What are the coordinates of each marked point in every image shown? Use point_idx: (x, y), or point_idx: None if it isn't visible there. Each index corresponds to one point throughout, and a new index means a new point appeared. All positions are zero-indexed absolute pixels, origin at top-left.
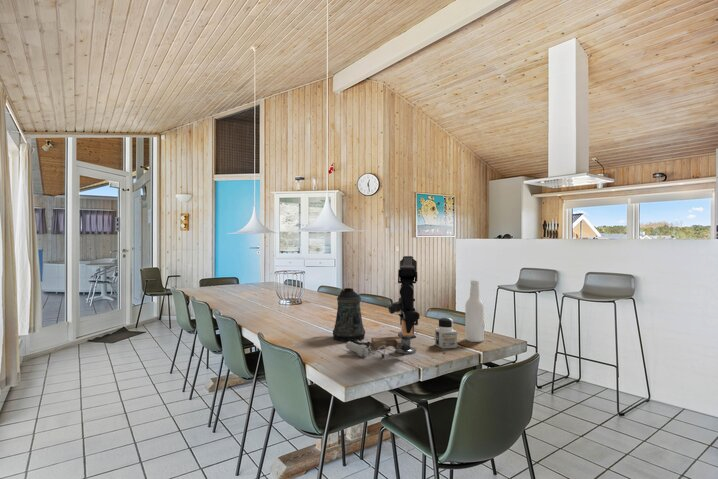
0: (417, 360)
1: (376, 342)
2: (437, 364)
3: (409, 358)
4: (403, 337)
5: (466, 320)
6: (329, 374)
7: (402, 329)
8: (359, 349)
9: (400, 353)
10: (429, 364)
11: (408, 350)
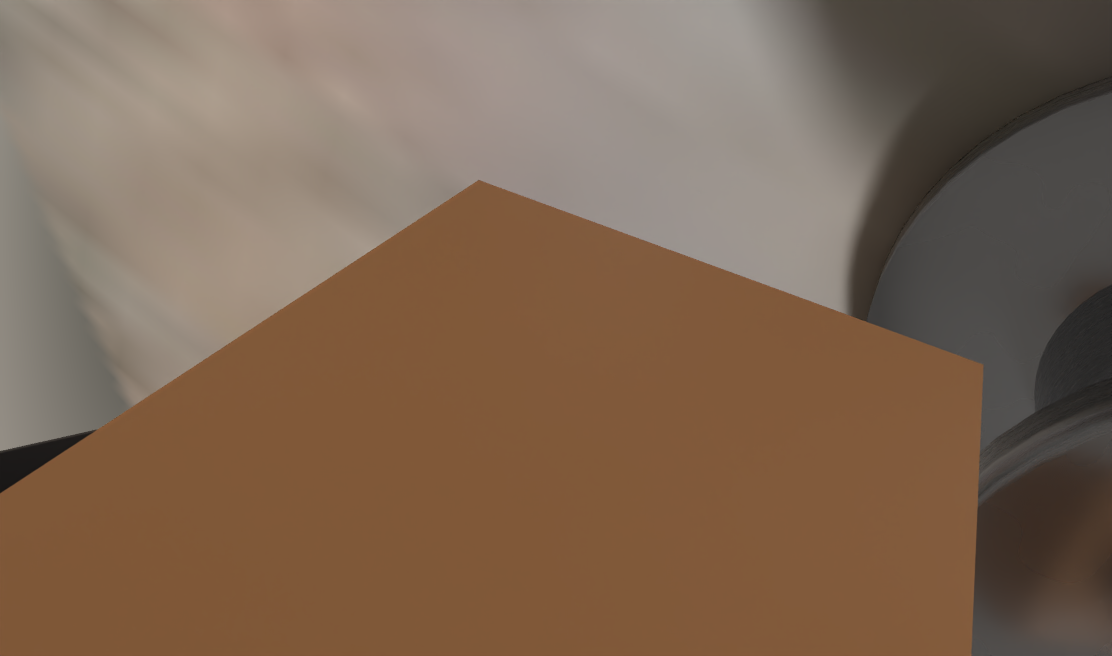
0: (378, 169)
1: None
2: (109, 345)
3: (561, 86)
4: (1045, 412)
5: None
6: None
7: (663, 404)
8: None
9: (1060, 99)
10: (124, 225)
11: (1015, 380)
